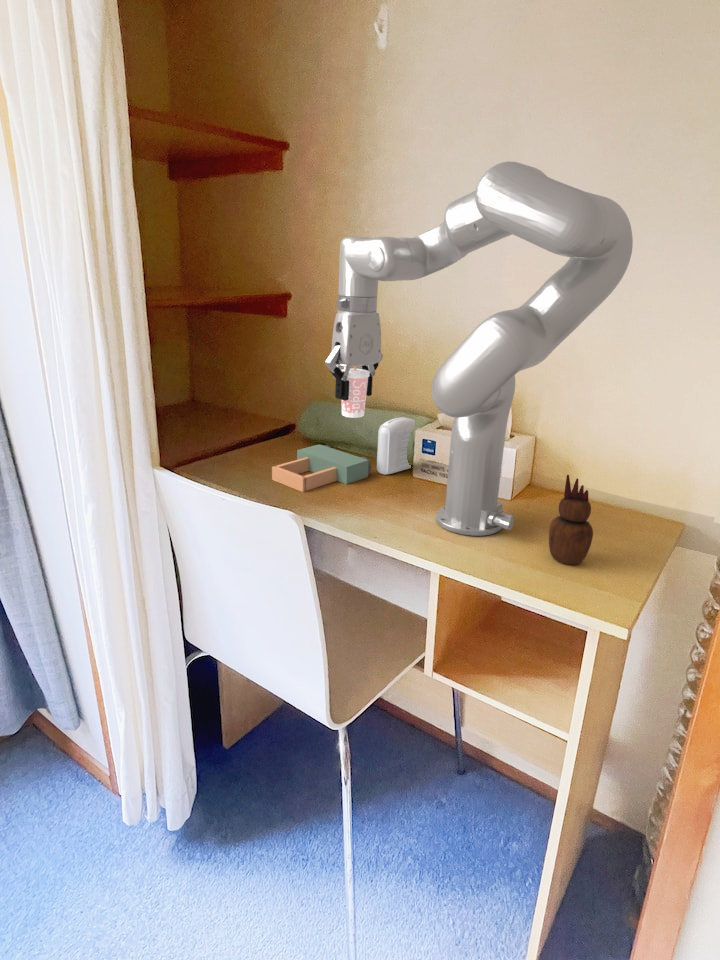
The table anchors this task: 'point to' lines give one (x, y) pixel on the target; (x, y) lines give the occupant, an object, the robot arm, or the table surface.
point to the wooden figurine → (571, 527)
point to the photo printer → (394, 445)
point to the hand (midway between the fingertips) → (353, 396)
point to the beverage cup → (356, 393)
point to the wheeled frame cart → (321, 468)
